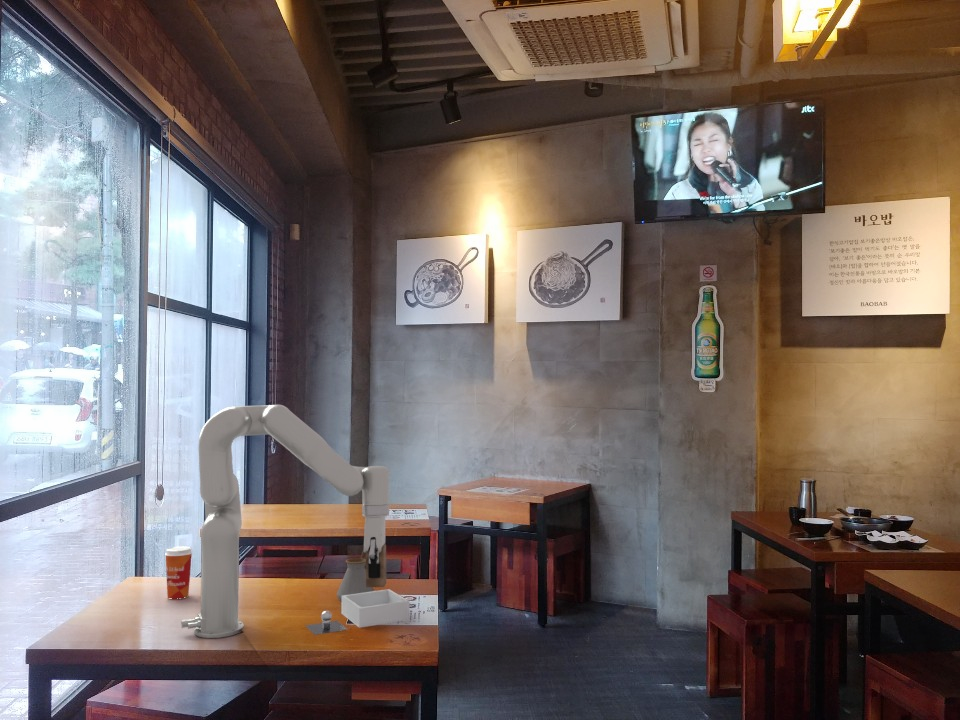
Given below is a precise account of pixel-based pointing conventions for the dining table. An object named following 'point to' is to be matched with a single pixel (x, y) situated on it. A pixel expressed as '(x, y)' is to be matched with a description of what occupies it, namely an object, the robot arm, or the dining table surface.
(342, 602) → the grey bin
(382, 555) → the walnut post
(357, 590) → the coffee pot
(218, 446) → the robot arm
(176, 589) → the coffee cup
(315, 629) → the stud plate
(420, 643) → the dining table surface
